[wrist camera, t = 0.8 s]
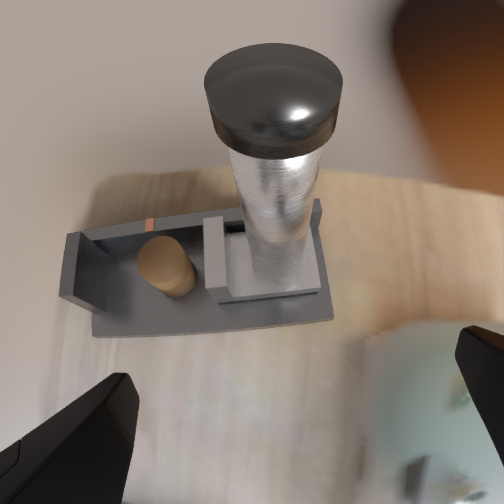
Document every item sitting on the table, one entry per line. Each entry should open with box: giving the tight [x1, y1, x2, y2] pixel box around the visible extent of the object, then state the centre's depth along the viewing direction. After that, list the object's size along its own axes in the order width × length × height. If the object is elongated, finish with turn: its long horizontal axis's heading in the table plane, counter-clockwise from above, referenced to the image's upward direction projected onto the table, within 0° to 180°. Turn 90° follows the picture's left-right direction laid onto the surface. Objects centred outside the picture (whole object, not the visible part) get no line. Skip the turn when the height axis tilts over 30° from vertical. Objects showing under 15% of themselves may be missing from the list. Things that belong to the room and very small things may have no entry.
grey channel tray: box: [59, 198, 334, 338], centre depth 20 cm, size 17×8×5 cm, turn 95°
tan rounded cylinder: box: [137, 236, 197, 298], centre depth 20 cm, size 3×3×4 cm
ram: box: [203, 43, 343, 303], centre depth 14 cm, size 7×4×15 cm, turn 95°
